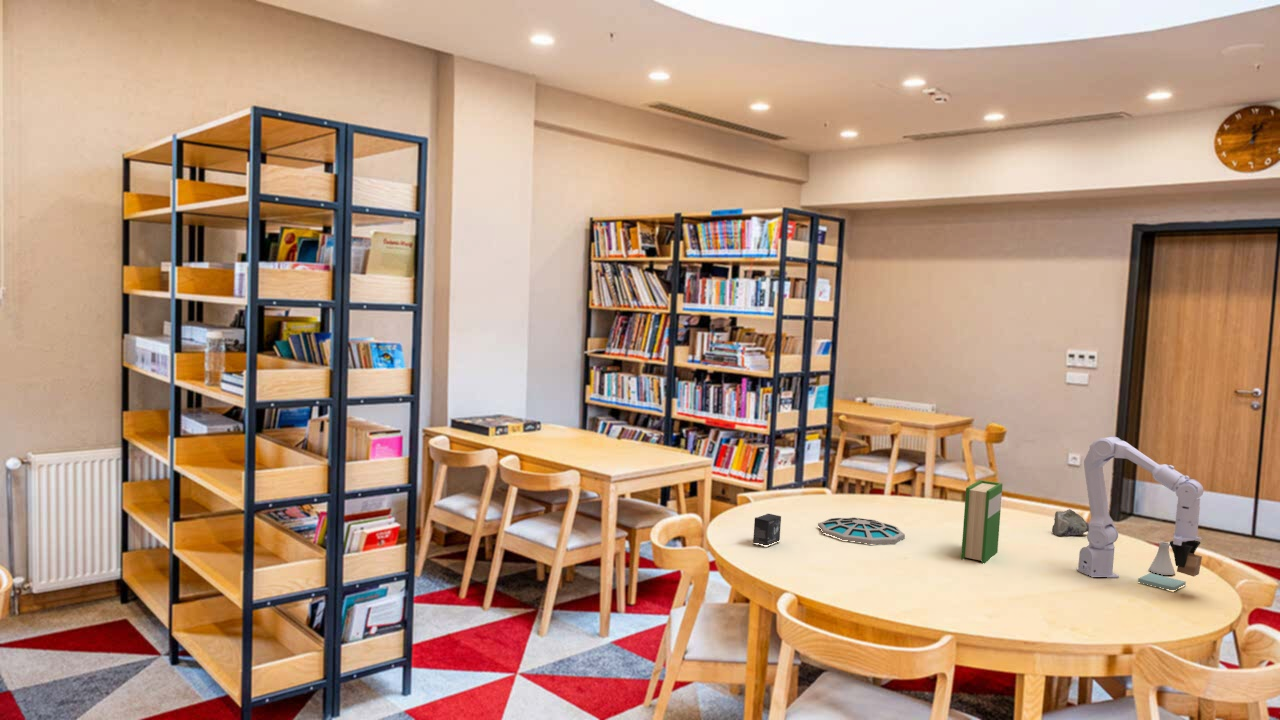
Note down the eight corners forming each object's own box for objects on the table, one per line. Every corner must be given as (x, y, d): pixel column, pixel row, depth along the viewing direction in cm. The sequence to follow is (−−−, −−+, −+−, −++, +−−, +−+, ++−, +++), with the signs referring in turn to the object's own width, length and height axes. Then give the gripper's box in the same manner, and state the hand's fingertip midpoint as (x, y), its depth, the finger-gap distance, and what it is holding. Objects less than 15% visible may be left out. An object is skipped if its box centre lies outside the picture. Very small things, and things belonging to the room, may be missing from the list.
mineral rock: (1089, 535, 323) (1092, 509, 323) (1090, 541, 314) (1092, 514, 313) (1052, 529, 329) (1054, 504, 328) (1051, 536, 320) (1053, 509, 319)
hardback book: (984, 563, 279) (989, 491, 278) (961, 559, 283) (966, 487, 282) (997, 552, 293) (1002, 483, 292) (975, 548, 298) (979, 480, 296)
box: (767, 548, 286) (768, 520, 285) (752, 545, 289) (753, 517, 288) (780, 543, 293) (781, 515, 292) (765, 539, 296) (767, 512, 296)
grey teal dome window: (913, 548, 295) (914, 534, 294) (828, 544, 295) (829, 530, 295) (889, 525, 325) (890, 512, 325) (812, 521, 326) (813, 509, 326)
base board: (1173, 592, 258) (1174, 587, 258) (1137, 583, 265) (1138, 578, 265) (1185, 586, 264) (1185, 581, 264) (1149, 577, 272) (1150, 572, 272)
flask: (1162, 577, 273) (1164, 546, 272) (1143, 570, 280) (1146, 540, 279) (1180, 576, 275) (1182, 545, 274) (1161, 569, 282) (1163, 539, 281)
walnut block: (1193, 576, 252) (1197, 558, 251) (1176, 571, 255) (1179, 553, 254) (1198, 574, 255) (1202, 556, 254) (1182, 568, 258) (1185, 551, 257)
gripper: (1194, 526, 247) (1189, 572, 248) (1210, 520, 257) (1206, 564, 258) (1166, 521, 253) (1163, 566, 253) (1183, 515, 262) (1179, 558, 263)
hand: (1183, 565), depth 256 cm, fingers closed on walnut block, 4 cm apart
